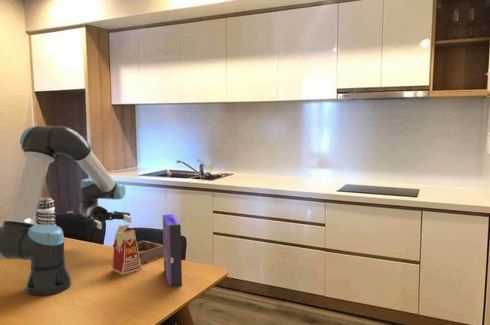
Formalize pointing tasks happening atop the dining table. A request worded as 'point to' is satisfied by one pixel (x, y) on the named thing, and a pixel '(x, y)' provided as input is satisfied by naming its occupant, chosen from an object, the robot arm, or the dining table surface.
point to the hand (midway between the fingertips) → (116, 223)
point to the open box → (149, 251)
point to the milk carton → (125, 251)
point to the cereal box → (172, 250)
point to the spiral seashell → (46, 212)
